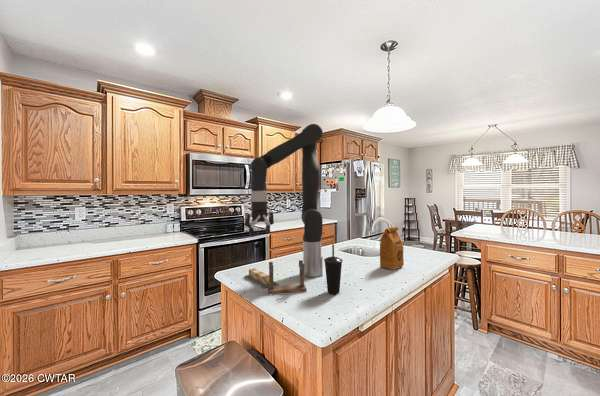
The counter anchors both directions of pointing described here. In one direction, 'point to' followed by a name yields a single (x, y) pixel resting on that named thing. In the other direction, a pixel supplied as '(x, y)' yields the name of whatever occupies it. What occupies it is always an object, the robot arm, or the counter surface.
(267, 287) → the grey flat plank
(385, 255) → the coffee package
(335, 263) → the drinking cup
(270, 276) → the rack
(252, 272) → the rail
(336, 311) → the counter surface
